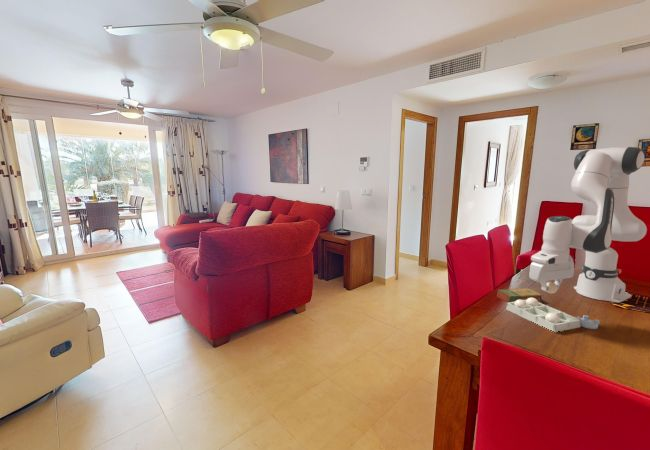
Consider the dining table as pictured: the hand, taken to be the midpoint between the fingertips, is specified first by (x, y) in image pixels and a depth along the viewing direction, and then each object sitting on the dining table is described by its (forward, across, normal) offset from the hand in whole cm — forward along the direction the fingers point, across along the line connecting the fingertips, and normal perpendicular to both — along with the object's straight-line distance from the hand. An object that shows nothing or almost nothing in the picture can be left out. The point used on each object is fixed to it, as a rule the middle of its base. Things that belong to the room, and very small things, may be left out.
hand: (550, 289), depth 118 cm
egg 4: (+11, +6, +6) cm, 14 cm away
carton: (+12, -5, -17) cm, 21 cm away
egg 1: (+11, +6, -7) cm, 14 cm away
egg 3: (+2, 0, 0) cm, 2 cm away
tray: (+12, +3, 0) cm, 12 cm away
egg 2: (+11, 0, -7) cm, 13 cm away
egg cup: (+12, -8, +10) cm, 17 cm away
